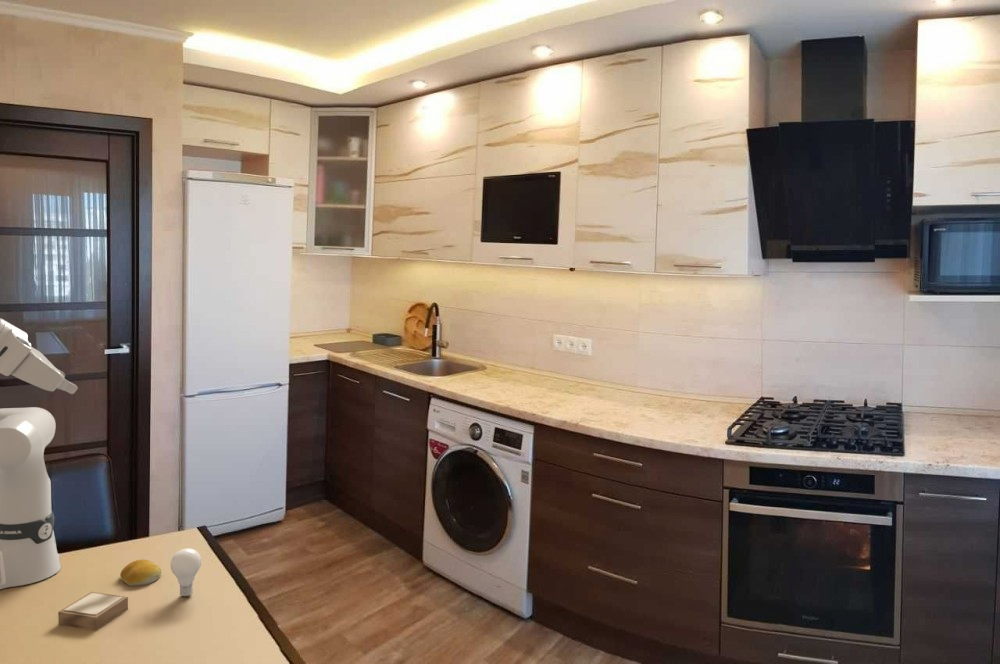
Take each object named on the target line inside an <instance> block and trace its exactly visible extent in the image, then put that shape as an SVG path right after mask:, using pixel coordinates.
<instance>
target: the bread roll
mask: <svg viewBox="0 0 1000 664" xmlns="http://www.w3.org/2000/svg"><path fill="white" fill-rule="evenodd" d="M161 575H162V568H161V567H160V566H159V565H158V564H155V563H154V562H153V561H151V560H148V559H138V560H137V559H136V560H134V561H131V562H130V563H128V564H127V565H126V566H124V567H123V568H122V570H121V572H120V579H121V580H122V581H123V582H124V583H126V585H127V586H129V587H133V586H134V587H137V586H144V585H145V586H146V585H149V584H152V583H155V582H156V581H157V580H158V579H159V578H160V577H161Z"/></svg>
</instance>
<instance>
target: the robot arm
mask: <svg viewBox="0 0 1000 664" xmlns="http://www.w3.org/2000/svg"><path fill="white" fill-rule="evenodd" d="M28 335H29V334H28V332H26V331H24V330H22V329H20V328H18V327H17V326H15V325H14V324H12V323H10V322H9V321H8V320H5V319H3V318H0V374H1V375H3V376H5V377H9V376H10V375H11V376H14V377H15V378H16V379H19V380H21V381H24V382H26V383H28V384H30V385H32V386H36V387H37V388H39V389H42V390H44V391H48V392H54V391H55V390H61V391H64V392H67V393H68V394H69V395H74V394H75V393H76V392H77V390H78V389H79V387H78V385H77V384H75V383H73V382H71V381H69V380H67V379H66V378H65V377H66V374H65V372H64V371H61V370H60V369H58V368H57V367H55V365H54V364H53V363H52V362H51V361H50V360H49V359H48V358H47V357H46V356H45V355H44V354H43V353H42V352H41V351H39V350H38V349H36V348H34V347H32V343H31V342H30V341H29V339H28V337H29V336H28ZM56 425H57V424H56V419H55V417H54V416H53V415H52V414H51V412H50V411H48V410H47V409H45V408H42V407H38V406H34V407H33V406H31V407H30V406H29V407H11V408H10V407H8V408H7V407H5V408H4V407H3V408H0V590H3V589H6V588H12V587H18V586H24V585H30V584H34V583H36V582H41V581H43V580H46V579H48V578H49V577H52V576H54V575H55V574H57V573H58V572H59V571H60V570H61V568H62V565H61V564H62V563H61V562H60V559H61V557H60V553H58V550H57V542H56V537H55V531H54V527H55V516H54V511H53V510H52V485H51V484H52V483H51V479H50V477H49V474H48V472H47V468H46V464H45V463H46V462H45V457H44V453H45V449H46V447H47V446H48V445H49V444H50V443H51V442H52V441H53V439H54V437H55V434H56V428H57V426H56Z"/></svg>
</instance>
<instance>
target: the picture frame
mask: <svg viewBox="0 0 1000 664" xmlns="http://www.w3.org/2000/svg"><path fill="white" fill-rule="evenodd" d="M128 609H129V597H128V596H125V595H124V596H123V595H115V594H109V593H102V592H96V591H95V592H94V591H91V592H89V593H87V594H85V595H84V596H82V597H81V598H79V599H77V600H75V601H74V602H72V603H71V604H69V605H67V606H66V607H64V608H63V609H60V610H59V611H58V613H57V615H58V616H57V618H58V625H59V626H63V627H71V628H77V629H84V630H85V629H86V630H91V631H99V630H100V629H101V628H103V627H104V626H106V625H107V624H108V623H111V621H113V620H115V619H116V618H118V617H119V616H121V615H122V614H123V613H125V612H126V611H127V610H128Z"/></svg>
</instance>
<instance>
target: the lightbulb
mask: <svg viewBox="0 0 1000 664" xmlns="http://www.w3.org/2000/svg"><path fill="white" fill-rule="evenodd" d="M201 566H202V557H201V554H200V553H199V552H198V550H196V549H194V548H190V547H189V548H187V547H185V548H182V549H180V550H178V551H177V552H175V554H174V555H173V556H172V557H171V560H170V570H171V572H172V573H173V575H174V576H175V577H176V579H177V582H178V585H179V596H182V597H184V598H186V597H189V596H191V595H192V594H193V592H194V591H193V590H194V587H193V585H194V584H193V583H194V581H195V578H196V575H197V573H198V572H199V571H200V568H201Z"/></svg>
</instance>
